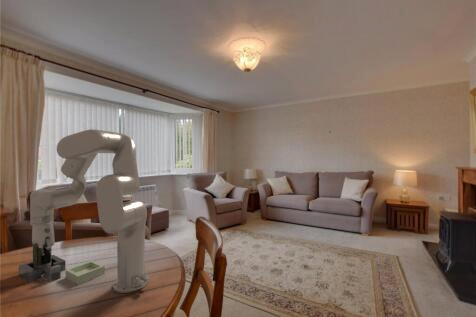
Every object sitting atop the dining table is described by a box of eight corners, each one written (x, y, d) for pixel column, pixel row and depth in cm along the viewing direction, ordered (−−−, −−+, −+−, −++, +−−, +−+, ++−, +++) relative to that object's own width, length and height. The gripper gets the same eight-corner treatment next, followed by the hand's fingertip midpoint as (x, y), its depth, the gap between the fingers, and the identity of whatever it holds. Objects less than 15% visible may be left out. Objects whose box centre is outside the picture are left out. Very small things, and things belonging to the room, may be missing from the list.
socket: (65, 269, 99) (65, 260, 99) (29, 282, 88) (29, 272, 88) (53, 263, 105) (53, 254, 105) (18, 274, 95) (18, 265, 95)
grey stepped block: (60, 278, 92) (60, 265, 92) (49, 282, 89) (49, 269, 89) (52, 273, 96) (52, 261, 96) (41, 277, 93) (41, 264, 93)
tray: (104, 273, 95) (104, 265, 95) (77, 284, 87) (77, 276, 87) (92, 267, 100) (92, 260, 100) (65, 277, 92) (65, 270, 92)
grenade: (43, 268, 100) (43, 234, 100) (55, 269, 99) (55, 234, 99) (28, 275, 94) (28, 239, 94) (41, 276, 93) (41, 239, 93)
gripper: (61, 220, 95) (61, 263, 95) (45, 215, 104) (45, 254, 104) (39, 224, 89) (39, 270, 89) (23, 218, 98) (23, 260, 98)
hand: (42, 261), depth 97 cm, fingers open, 6 cm apart
